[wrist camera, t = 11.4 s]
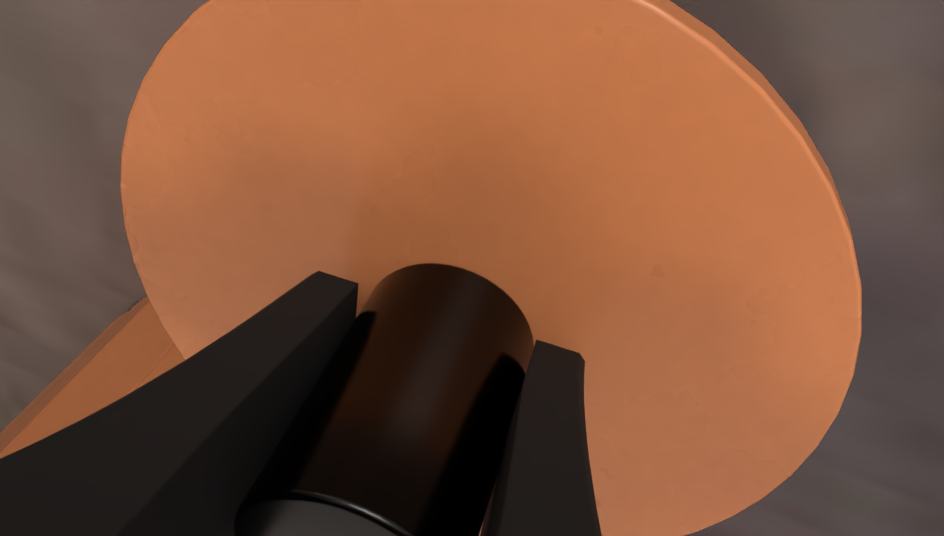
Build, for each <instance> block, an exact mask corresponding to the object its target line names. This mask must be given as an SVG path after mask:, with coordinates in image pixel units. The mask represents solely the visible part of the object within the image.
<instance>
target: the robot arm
mask: <svg viewBox="0 0 944 536" xmlns="http://www.w3.org/2000/svg"><path fill="white" fill-rule="evenodd" d="M358 284H359V283H356V282H353V281H350V280H346V279H343V278H340V277H337V276H334V275H331V274H327V273H324V272H321V271H317V272H315V273H313V274H311V275H310V276H308V277H307V278H306V279H304V280H303V281H301V282H300V283H298V284H297V285H296V286H294V287H293V288H291V289H290V290H289V291H287V292H286V293H284V294H283V295H282V296H280V297H279V298H277V299H276V300H275V301H273V302H272V303H270V304H269V305H267V306H266V307H265V308H263V309H262V310H260V311H259V312H257V313H256V314H255V315H253V316H252V317H250V318H249V319H247V320H246V321H244V322H243V323H241V324H240V325H239V326H237V327H236V328H234V329H232V330H231V331H229V332H228V333H226V334H225V335H223V336H222V337H220V338H219V339H217V340H216V341H214V342H213V343H211V344H210V345H208V346H206V347H205V348H203V349H202V350H200V351H199V352H197V353H196V354H194V355H193V356H191V357H189V358H188V359H186V360H185V361H183V362H181V363H180V364H178V365H177V366H175V367H173V368H171V369H170V370H168V371H166V372H165V373H163V374H161V375H160V376H158V377H156V378H154V379H153V380H151V381H149V382H148V383H146V384H144V385H143V386H141V387H139V388H138V389H136V390H134V391H132V392H131V393H129V394H127V395H126V396H124V397H122V398H120V399H119V400H117V401H115V402H113V403H111V404H109V405H108V406H106V407H104V408H102V409H100V410H98V411H96V412H95V413H93V414H91V415H89V416H87V417H85V418H83V419H81V420H79V421H77V422H76V423H74V424H72V425H70V426H68V427H65V428H63V429H61V430H59V431H57V432H55V433H53V434H51V435H49V436H47V437H45V438H43V439H41V440H39V441H37V442H35V443H33V444H31V445H29V446H27V447H24V448H22V449H20V450H18V451H16V452H13V453H11V454H9V455H7V456H5V457H2V458H0V536H235V534H234V521H235V516H236V512H237V510H238V508H239V506H240V505H241V503H242V501H243V500H244V498H245V496H246V495H247V493H248V492H249V490H250V488H251V487H252V485H253V484H254V482H255V480H256V479H257V477H258V475H259V474H260V472H261V471H262V469H263V467H264V466H265V464H266V463H267V461H268V459H269V458H270V456H271V455H272V453H273V451H274V450H275V448H276V446H277V445H278V443H279V442H280V440H281V438H282V437H283V435H284V434H285V432H286V430H287V429H288V427H289V426H290V424H291V422H292V421H293V419H294V417H295V416H296V414H297V413H298V411H299V409H300V408H301V406H302V405H303V403H304V401H305V400H306V398H307V396H308V395H309V393H310V392H311V390H312V388H313V387H314V385H315V384H316V382H317V380H318V379H319V377H320V376H321V374H322V372H323V371H324V369H325V367H326V366H327V364H328V363H329V361H330V359H331V358H332V356H333V355H334V353H335V351H336V350H337V348H338V346H339V345H340V343H341V342H342V340H343V338H344V337H345V335H346V334H347V332H348V330H349V329H350V327H351V326H352V324H353V322H354V321H355V319H356V311H357V297H358ZM584 369H585V360H584V359H583V357H582V356H581V354H580V353H578V352H575V351H572V350H568V349H565V348H562V347H559V346H556V345H553V344H549V343H546V342H543V341H540V340H537V339H536V342H535V346H534V349H533V352H532V355H531V358H530V362H529V365H528V368H527V371H526V374H525V378H524V381H523V384H522V387H521V391H520V394H519V397H518V401H517V404H516V407H515V410H514V414H513V417H512V420H511V424H510V427H509V430H508V435H507V439H506V444H505V448H504V453H503V457H502V461H501V465H500V468H499V471H498V474H497V478H496V481H495V484H494V488H493V491H492V494H491V497H490V501H489V504H488V507H487V510H486V514H485V517H484V520H483V524H482V529H481V534H480V536H602V534H601V529H600V523H599V518H598V512H597V507H596V500H595V494H594V487H593V481H592V474H591V468H590V461H589V453H588V444H587V434H586V422H585V406H584Z"/></svg>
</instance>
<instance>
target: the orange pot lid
mask: <svg viewBox="0 0 944 536" xmlns="http://www.w3.org/2000/svg"><path fill="white" fill-rule="evenodd" d="M120 191H121V199H122V208H123V216H124V225H125V230H126V234H127V237H128V241H129V245H130V249H131V253H132V257H133V261H134V264H135V266H136V269H137V271H138V274H139V276H140V279H141V282H142V284H143V287H144V289H145V292H146V294H147V297H148V299H149V300H150V302H151V304H152V306H153V308H154V310H155V312H156V314H157V316H158V318H159V320H160V321H161V323H162V325H163V327H164V329H165V330H166V332H167V333H168V335H169V336H170V338H171V339H172V341H173V343H174V344H175V346H176V347H177V349H178V350H179V352H180V353H181V355H182V356H183V358H184V359H185V360H186V359H188V358H189V357H191V356H193V355H194V354H196V353H197V352H199V351H200V350H202V349H203V348H205V347H206V346H208V345H210V344H211V343H213V342H214V341H216V340H217V339H219V338H220V337H222V336H223V335H225V334H226V333H228V332H229V331H231V330H232V329H234V328H236V327H237V326H239V325H240V324H241V323H243V322H244V321H246V320H247V319H249V318H250V317H252V316H253V315H255V314H256V313H257V312H259V311H260V310H262V309H263V308H265V307H266V306H267V305H269V304H270V303H272V302H273V301H275V300H276V299H277V298H279V297H280V296H282V295H283V294H284V293H286V292H287V291H289V290H290V289H291V288H293V287H294V286H296V285H297V284H298V283H300V282H301V281H303V280H304V279H306V278H307V277H308V276H310V275H311V274H313V273H315V272H317V271H321V272H324V273H327V274H331V275H334V276H337V277H340V278H343V279H346V280H350V281H353V282H356V283H359V284H358V297H357V311H356V319H355V321H354V322H353V324H352V326H351V327H350V329H349V330H348V332H347V334H346V335H345V337H344V338H343V340H342V342H341V343H340V345H339V346H338V348H337V350H336V351H335V353H334V355H333V356H332V358H331V359H330V361H329V363H328V364H327V366H326V367H325V369H324V371H323V372H322V374H321V376H320V377H319V379H318V380H317V382H316V384H315V385H314V387H313V388H312V390H311V392H310V393H309V395H308V396H307V398H306V400H305V401H304V403H303V405H302V406H301V408H300V409H299V411H298V413H297V414H296V416H295V417H294V419H293V421H292V422H291V424H290V426H289V427H288V429H287V430H286V432H285V434H284V435H283V437H282V438H281V440H280V442H279V443H278V445H277V446H276V448H275V450H274V451H273V453H272V455H271V456H270V458H269V459H268V461H267V463H266V464H265V466H264V467H263V469H262V471H261V472H260V474H259V475H258V477H257V479H256V480H255V482H254V484H253V485H252V487H251V488H250V490H249V492H248V493H247V495H246V496H245V498H244V500H243V501H242V503H241V505H240V506H239V508H238V510H237V512H236V516H235V521H234V534H235V536H480V534H481V529H482V524H483V520H484V517H485V514H486V510H487V507H488V504H489V501H490V497H491V494H492V491H493V488H494V484H495V481H496V478H497V474H498V471H499V468H500V465H501V461H502V457H503V453H504V448H505V444H506V439H507V435H508V430H509V427H510V424H511V420H512V417H513V414H514V410H515V407H516V404H517V401H518V397H519V394H520V391H521V387H522V384H523V381H524V378H525V374H526V371H527V368H528V365H529V362H530V358H531V355H532V352H533V349H534V346H535V342H536V339H537V340H540V341H543V342H546V343H549V344H553V345H556V346H559V347H562V348H565V349H568V350H572V351H575V352H578V353H580V354H581V356H582V357H583V359H584V360H585V369H584V406H585V422H586V434H587V444H588V453H589V461H590V468H591V474H592V481H593V487H594V494H595V500H596V507H597V512H598V518H599V523H600V529H601V534H602V536H684V535H688V534H691V533H694V532H698V531H700V530H702V529H705V528H707V527H709V526H711V525H714V524H716V523H718V522H721V521H723V520H725V519H728V518H730V517H732V516H734V515H735V514H737V513H739V512H740V511H742V510H744V509H746V508H747V507H749V506H751V505H752V504H754V503H756V502H757V501H759V500H761V499H762V498H764V497H765V496H766V495H767V494H769V493H770V492H771V491H772V490H774V489H775V488H776V487H777V486H779V485H780V484H781V483H782V482H784V481H785V480H786V479H787V478H789V477H790V476H791V475H792V474H793V473H794V472H795V471H796V470H797V468H798V467H799V466H800V465H801V464H802V463H803V462H804V461H805V460H806V459H807V457H808V456H809V455H810V454H811V453H812V452H813V451H814V450H815V449H816V447H817V446H818V445H819V443H820V441H821V440H822V438H823V437H824V435H825V433H826V432H827V430H828V429H829V427H830V426H831V424H832V422H833V421H834V419H835V418H836V416H837V414H838V412H839V410H840V408H841V405H842V403H843V400H844V398H845V395H846V393H847V390H848V388H849V385H850V382H851V380H852V377H853V375H854V370H855V365H856V360H857V355H858V349H859V344H860V339H861V334H862V285H861V280H860V275H859V270H858V264H857V259H856V254H855V249H854V243H853V238H852V234H851V229H850V225H849V221H848V218H847V215H846V213H845V210H844V207H843V205H842V202H841V200H840V197H839V194H838V192H837V189H836V186H835V184H834V181H833V179H832V176H831V173H830V171H829V169H828V167H827V165H826V164H825V162H824V160H823V159H822V157H821V155H820V153H819V152H818V150H817V148H816V147H815V145H814V143H813V142H812V140H811V138H810V136H809V135H808V133H807V131H806V130H805V128H804V126H803V125H802V123H801V121H800V120H799V119H798V117H797V116H796V115H795V114H794V112H793V111H792V110H791V109H790V108H789V106H788V105H787V104H786V103H785V102H784V100H783V99H782V98H781V97H780V95H779V94H778V93H777V92H776V91H775V89H774V88H773V87H772V86H771V84H770V83H769V82H768V81H767V80H766V78H765V77H764V76H763V75H762V73H760V72H759V71H758V70H757V69H756V68H755V67H754V66H753V65H752V64H750V63H749V62H748V61H747V60H746V59H745V58H744V57H743V56H742V55H741V54H739V53H738V52H737V51H736V50H735V49H734V48H733V47H732V46H731V45H729V44H728V43H727V42H726V41H725V40H724V39H723V38H722V37H721V36H720V35H718V34H717V33H716V32H715V31H714V30H713V29H711V28H710V27H708V26H707V25H705V24H704V23H702V22H701V21H699V20H698V19H696V18H695V17H693V16H692V15H690V14H689V13H687V12H686V11H684V10H683V9H681V8H680V7H679V6H677V5H676V4H674V3H673V2H671V1H670V0H209V1H207V2H206V3H205V4H203V5H202V6H201V7H199V8H198V9H197V10H195V11H194V12H193V13H192V15H191V16H190V17H189V18H188V19H187V20H186V21H185V22H184V23H183V24H182V25H181V26H180V28H179V29H178V30H177V31H176V32H175V33H174V34H173V35H172V36H171V37H170V38H169V39H168V41H167V42H166V43H165V44H164V46H163V48H162V49H161V51H160V52H159V54H158V56H157V57H156V59H155V60H154V62H153V64H152V65H151V67H150V69H149V70H148V72H147V73H146V75H145V77H144V78H143V81H142V84H141V86H140V89H139V91H138V94H137V97H136V99H135V102H134V104H133V107H132V109H131V112H130V115H129V118H128V123H127V128H126V133H125V138H124V143H123V149H122V155H121V188H120Z"/></svg>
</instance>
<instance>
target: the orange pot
mask: <svg viewBox="0 0 944 536" xmlns="http://www.w3.org/2000/svg"><path fill="white" fill-rule="evenodd" d="M183 361H185V359H184V358H183V356H182V355H181V353H180V352H179V350H178V349H177V347H176V346H175V344H174V343H173V341H172V339H171V338H170V336H169V335H168V333H167V332H166V330H165V329H164V327H163V325H162V323H161V321H160V320H159V318H158V316H157V314H156V312H155V310H154V308H153V306H152V304H151V302H150V300H149V299H148V297H147V296H146V297H145V298H143V299H142V300H140V301H139V302H138V303H136V304H135V305H134V306H133V307H132V308H131V309H130V310H129V311H128V312H126V313H124V314H123V315H121V316H119V317H117V318H116V319H115V320H114V321H113V322H112V323H111V324H110V325H109V326H108V327H107V328H106V329H105V330H104V331H103V332H102V333H101V334H100V335H99V336H98V337H97V338H96V339H95V340H94V341H93V342H92V343H91V344H90V345H89V346H88V347H87V348H86V349H85V350H84V351H83V352H82V353H81V354H80V355H79V356H78V357H77V358H76V359H75V360H74V361H73V362H72V363H71V364H69V365H68V366H67V367H66V368H65V369H64V370H63V371H62V372H61V373H60V374H59V375H58V376H57V377H56V378H55V379H54V380H53V381H52V382H51V383H50V384H49V385H48V386H47V387H46V388H45V389H44V390H43V391H42V392H41V393H40V394H39V395H38V396H37V397H36V398H35V399H34V400H33V401H32V402H31V403H30V404H29V405H28V406H27V407H26V408H25V409H24V410H23V411H22V412H21V413H20V414H19V415H18V416H17V417H16V418H15V419H14V420H13V421H12V422H11V423H10V424H9V425H8V426H7V427H6V428H5V429H4V430H3V431H2V432H1V433H0V458H2V457H5V456H7V455H9V454H11V453H13V452H16V451H18V450H20V449H22V448H24V447H27V446H29V445H31V444H33V443H35V442H37V441H39V440H41V439H43V438H45V437H47V436H49V435H51V434H53V433H55V432H57V431H59V430H61V429H63V428H65V427H68V426H70V425H72V424H74V423H76V422H77V421H79V420H81V419H83V418H85V417H87V416H89V415H91V414H93V413H95V412H96V411H98V410H100V409H102V408H104V407H106V406H108V405H109V404H111V403H113V402H115V401H117V400H119V399H120V398H122V397H124V396H126V395H127V394H129V393H131V392H132V391H134V390H136V389H138V388H139V387H141V386H143V385H144V384H146V383H148V382H149V381H151V380H153V379H154V378H156V377H158V376H160V375H161V374H163V373H165V372H166V371H168V370H170V369H171V368H173V367H175V366H177V365H178V364H180V363H181V362H183Z"/></svg>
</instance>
